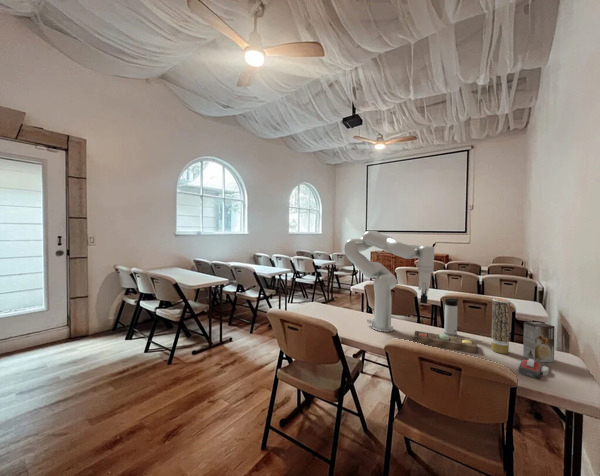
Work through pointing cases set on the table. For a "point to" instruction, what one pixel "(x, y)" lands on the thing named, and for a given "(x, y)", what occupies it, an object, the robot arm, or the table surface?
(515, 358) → the table surface
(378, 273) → the robot arm
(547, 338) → the coffee box
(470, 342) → the ochre button
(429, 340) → the button panel
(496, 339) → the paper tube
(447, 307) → the travel mug
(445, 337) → the sage button
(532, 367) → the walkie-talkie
